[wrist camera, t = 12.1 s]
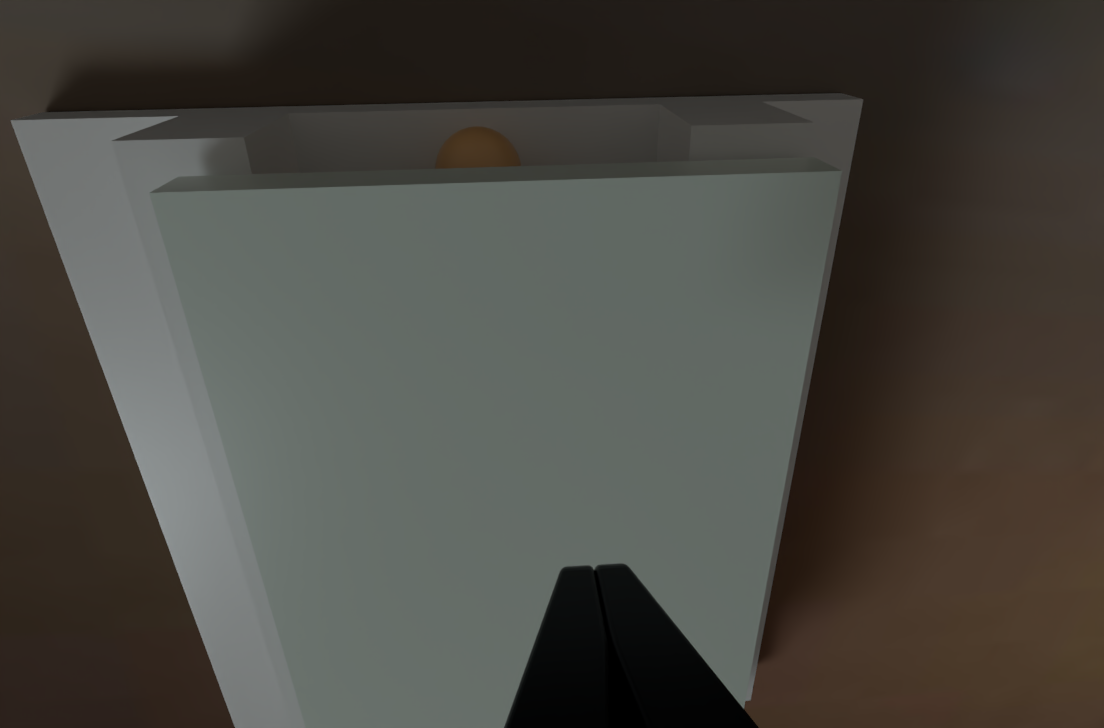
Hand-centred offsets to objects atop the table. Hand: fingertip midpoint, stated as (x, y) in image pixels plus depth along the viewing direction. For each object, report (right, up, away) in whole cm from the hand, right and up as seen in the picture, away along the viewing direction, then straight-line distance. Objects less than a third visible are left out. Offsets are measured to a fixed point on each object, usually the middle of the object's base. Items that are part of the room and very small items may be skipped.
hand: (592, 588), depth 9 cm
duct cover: (-1, -2, +6) cm, 6 cm away
